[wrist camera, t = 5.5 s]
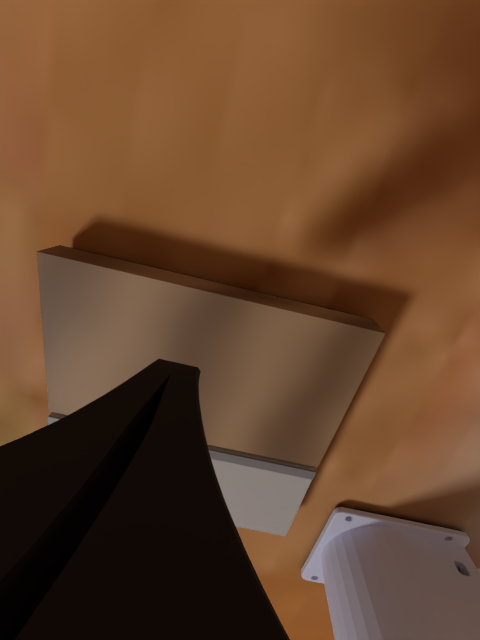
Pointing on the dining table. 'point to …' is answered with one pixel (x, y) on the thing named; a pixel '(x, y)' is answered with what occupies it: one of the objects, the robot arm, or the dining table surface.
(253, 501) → the grey board
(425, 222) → the dining table surface
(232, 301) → the walnut plank
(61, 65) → the dining table surface
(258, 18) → the dining table surface
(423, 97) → the dining table surface
